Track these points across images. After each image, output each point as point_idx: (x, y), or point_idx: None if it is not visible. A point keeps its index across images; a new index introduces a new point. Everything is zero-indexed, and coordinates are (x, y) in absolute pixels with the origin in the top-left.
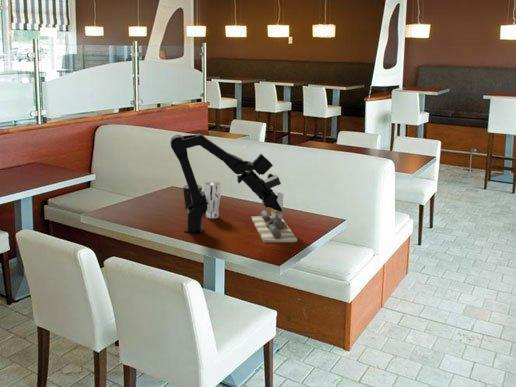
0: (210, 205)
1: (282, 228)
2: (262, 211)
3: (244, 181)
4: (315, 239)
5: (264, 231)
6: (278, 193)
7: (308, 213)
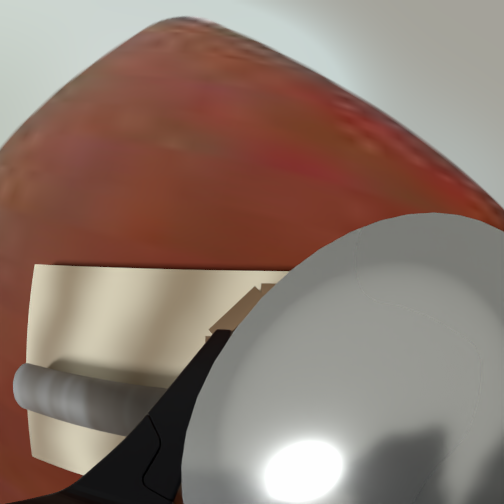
0: None
1: None
2: (21, 402)
3: None
4: (458, 170)
5: None
6: (381, 436)
7: (36, 114)
